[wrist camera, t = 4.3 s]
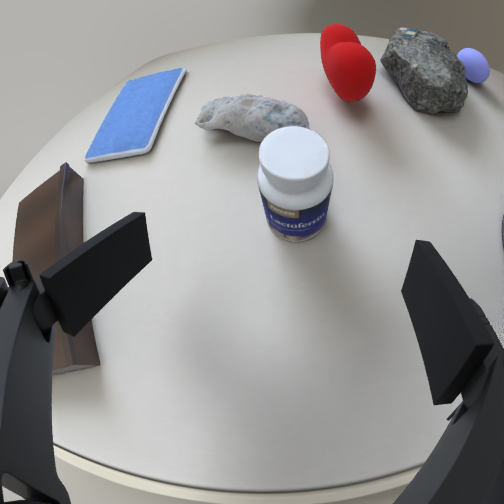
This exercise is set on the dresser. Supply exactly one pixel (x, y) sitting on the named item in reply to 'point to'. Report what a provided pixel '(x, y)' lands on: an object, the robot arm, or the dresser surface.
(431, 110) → the rock
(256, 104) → the decorative stone
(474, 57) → the sphere
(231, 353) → the dresser surface
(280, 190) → the pill bottle
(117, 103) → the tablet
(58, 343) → the ledge
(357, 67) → the heart
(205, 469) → the dresser surface
